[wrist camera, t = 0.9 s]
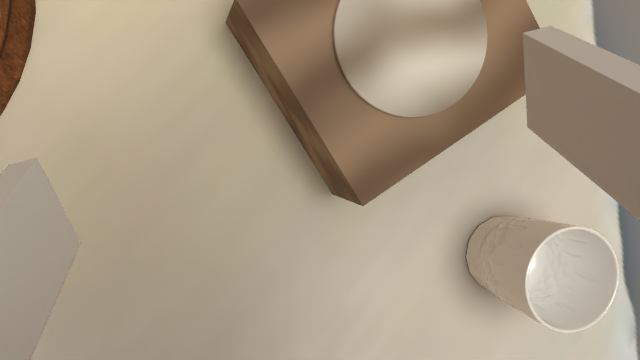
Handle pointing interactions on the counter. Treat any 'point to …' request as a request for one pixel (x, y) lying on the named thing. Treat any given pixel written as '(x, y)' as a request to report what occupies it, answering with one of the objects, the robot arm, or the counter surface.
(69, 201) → the counter surface
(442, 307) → the counter surface
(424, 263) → the counter surface
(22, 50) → the cutting board
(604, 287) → the white cup
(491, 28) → the block
